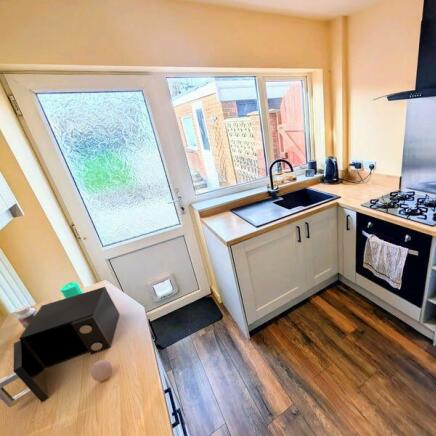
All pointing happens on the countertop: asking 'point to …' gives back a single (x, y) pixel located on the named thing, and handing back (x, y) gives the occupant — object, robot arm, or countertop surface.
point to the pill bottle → (25, 315)
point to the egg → (101, 370)
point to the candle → (71, 289)
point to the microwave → (72, 327)
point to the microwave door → (25, 376)
